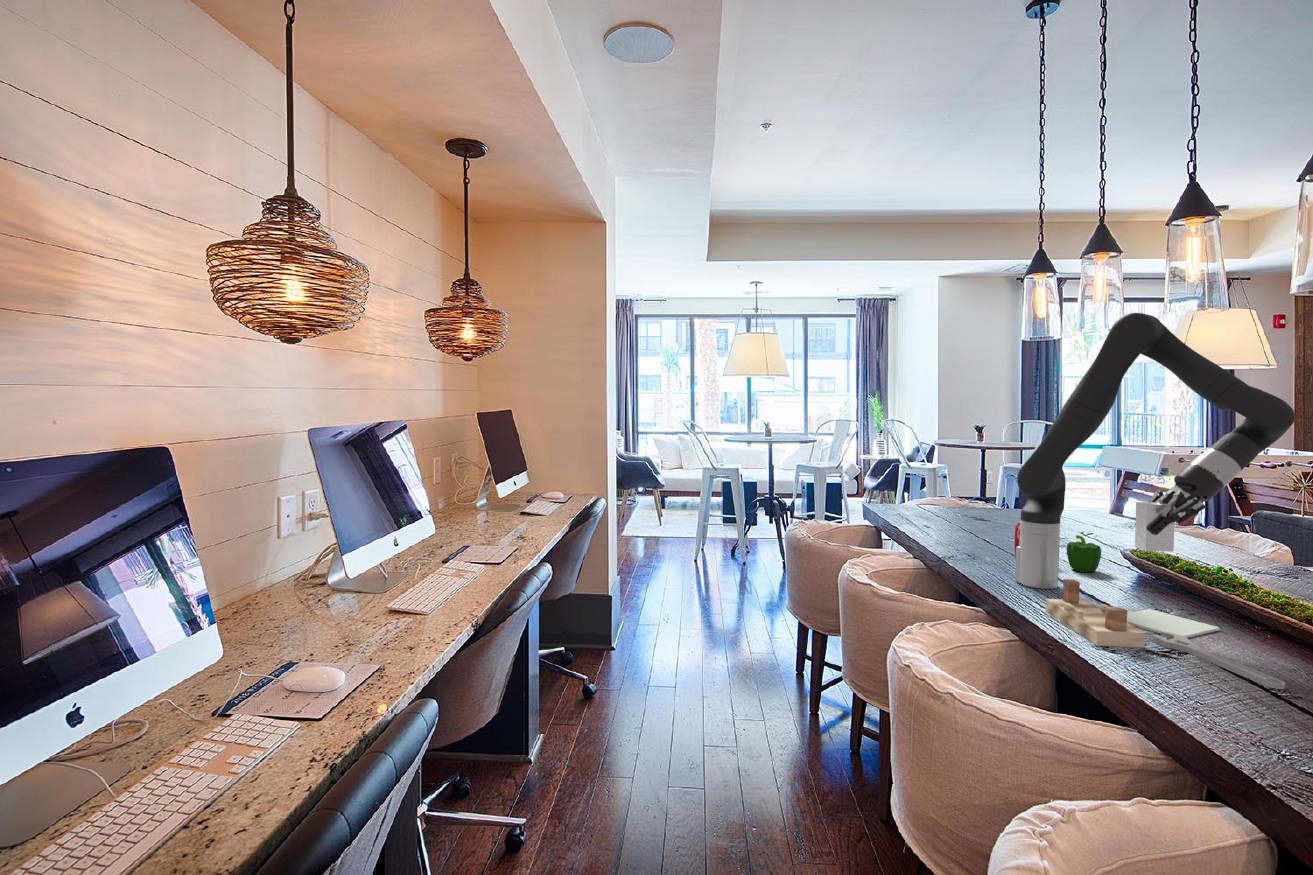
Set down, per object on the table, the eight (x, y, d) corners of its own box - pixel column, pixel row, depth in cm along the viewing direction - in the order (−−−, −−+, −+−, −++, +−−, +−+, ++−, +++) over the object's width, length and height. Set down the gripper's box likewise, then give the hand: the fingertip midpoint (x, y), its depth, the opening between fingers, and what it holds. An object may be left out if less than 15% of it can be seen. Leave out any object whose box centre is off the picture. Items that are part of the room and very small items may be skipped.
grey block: (1134, 546, 148) (1136, 502, 147) (1161, 547, 147) (1163, 502, 147) (1145, 550, 144) (1147, 504, 143) (1173, 551, 143) (1174, 505, 143)
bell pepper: (1105, 574, 189) (1106, 540, 188) (1073, 573, 191) (1074, 538, 190) (1092, 567, 197) (1093, 534, 197) (1061, 566, 199) (1063, 533, 198)
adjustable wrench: (1290, 692, 114) (1290, 682, 114) (1253, 693, 114) (1253, 683, 114) (1173, 639, 139) (1174, 631, 139) (1143, 639, 139) (1143, 631, 139)
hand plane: (1045, 611, 156) (1046, 577, 156) (1086, 612, 155) (1087, 578, 155) (1096, 645, 134) (1098, 606, 134) (1144, 647, 133) (1146, 608, 133)
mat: (1111, 619, 151) (1111, 616, 151) (1149, 611, 156) (1149, 608, 156) (1180, 639, 138) (1180, 636, 138) (1219, 630, 144) (1219, 627, 144)
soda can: (1043, 563, 202) (1044, 524, 201) (1018, 562, 203) (1019, 523, 203) (1035, 558, 209) (1036, 520, 208) (1010, 557, 210) (1011, 519, 210)
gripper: (1172, 459, 151) (1113, 512, 153) (1217, 465, 137) (1151, 523, 139) (1197, 483, 150) (1138, 535, 152) (1245, 491, 136) (1178, 549, 138)
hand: (1144, 529), depth 146 cm, fingers closed on grey block, 4 cm apart
